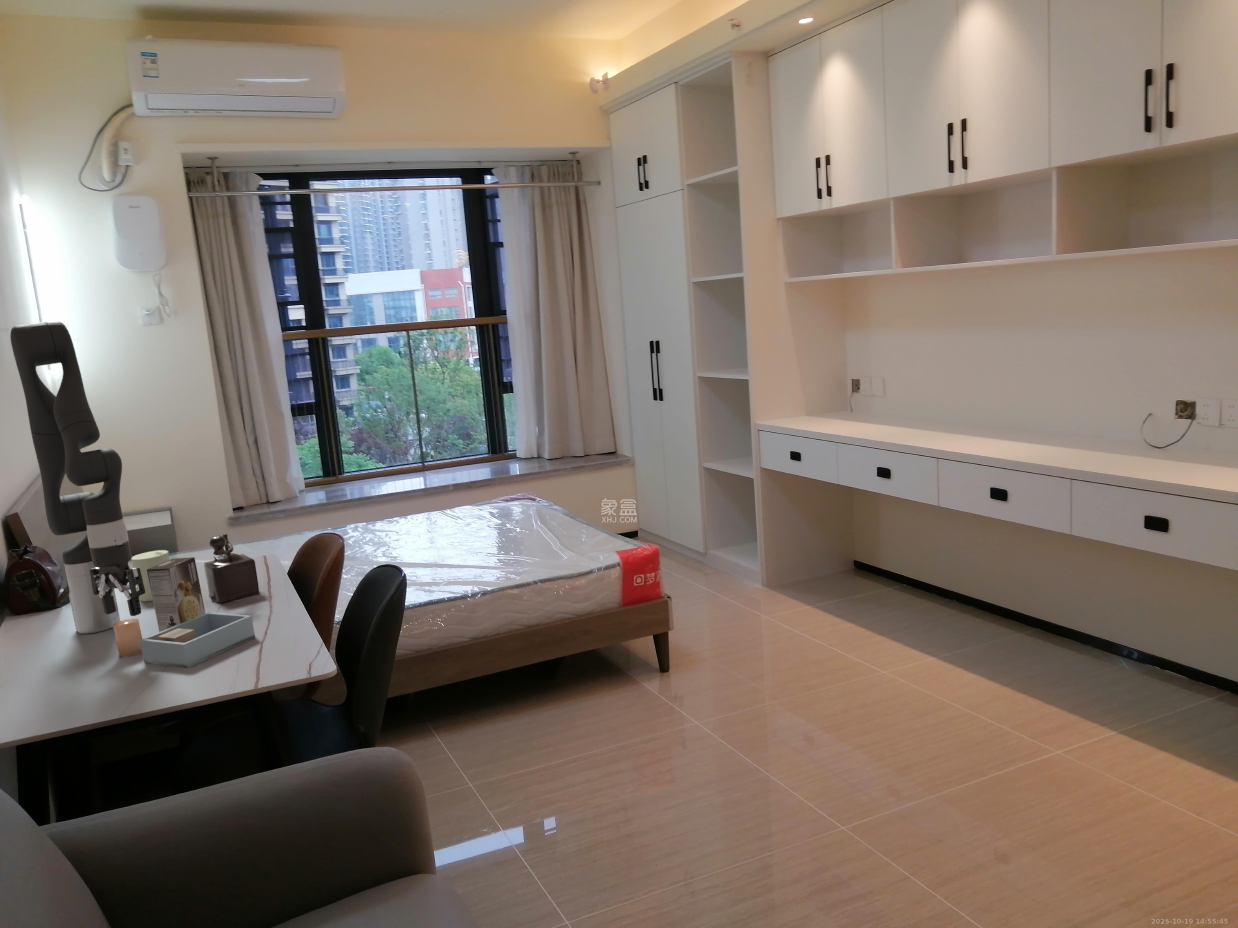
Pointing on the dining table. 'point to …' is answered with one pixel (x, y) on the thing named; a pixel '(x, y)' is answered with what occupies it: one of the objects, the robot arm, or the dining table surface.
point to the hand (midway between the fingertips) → (123, 613)
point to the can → (146, 562)
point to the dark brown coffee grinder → (230, 573)
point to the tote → (199, 639)
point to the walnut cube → (178, 635)
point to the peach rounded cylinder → (128, 637)
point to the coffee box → (175, 592)
